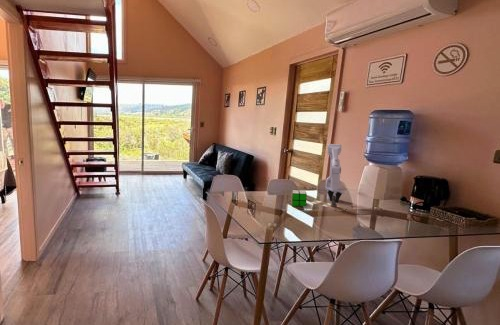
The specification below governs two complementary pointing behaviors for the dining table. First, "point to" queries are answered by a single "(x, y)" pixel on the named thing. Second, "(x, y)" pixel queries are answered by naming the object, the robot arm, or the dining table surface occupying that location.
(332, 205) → the pawn
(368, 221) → the dining table surface
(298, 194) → the puzzle cube
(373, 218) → the dining table surface
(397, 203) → the dining table surface
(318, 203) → the board
